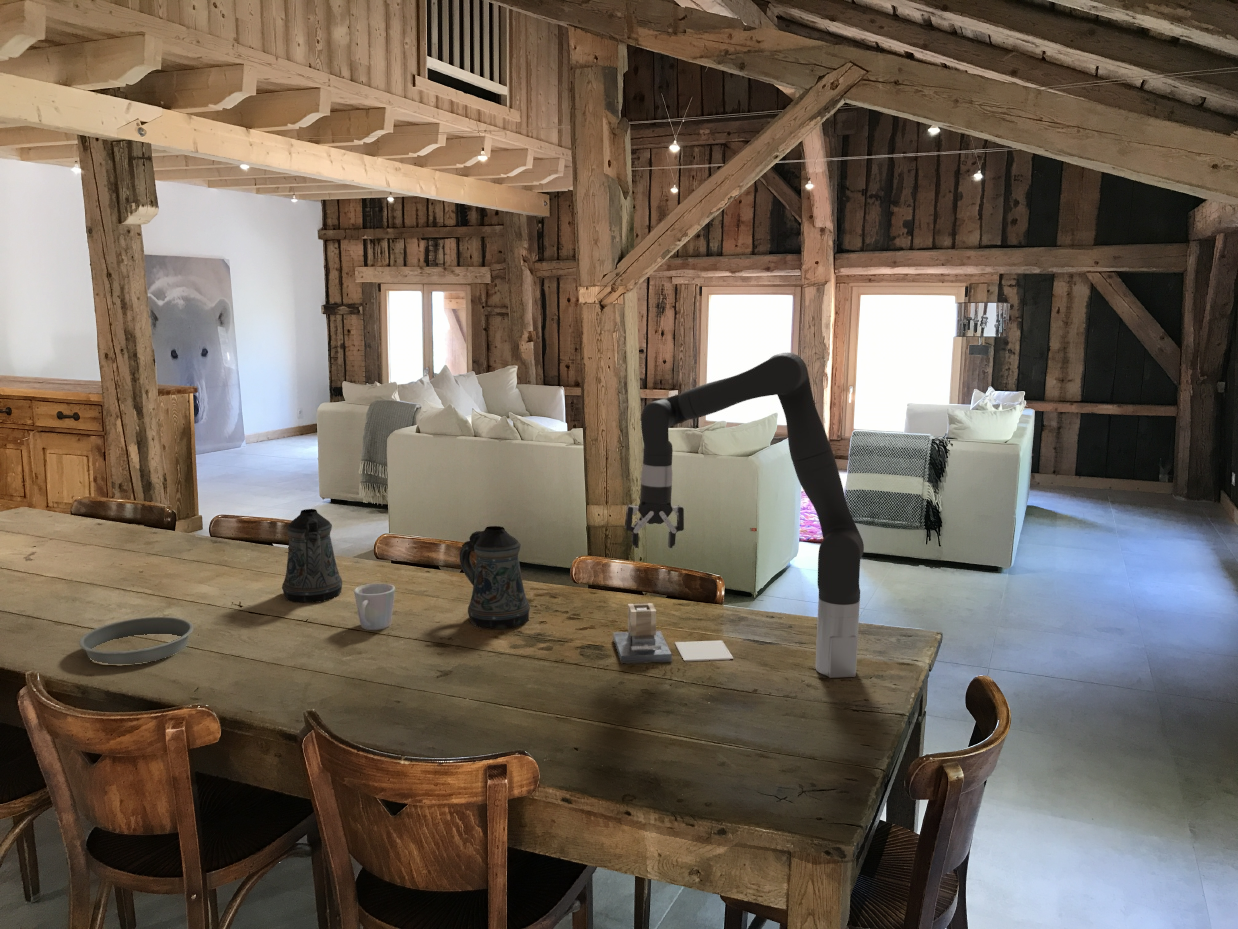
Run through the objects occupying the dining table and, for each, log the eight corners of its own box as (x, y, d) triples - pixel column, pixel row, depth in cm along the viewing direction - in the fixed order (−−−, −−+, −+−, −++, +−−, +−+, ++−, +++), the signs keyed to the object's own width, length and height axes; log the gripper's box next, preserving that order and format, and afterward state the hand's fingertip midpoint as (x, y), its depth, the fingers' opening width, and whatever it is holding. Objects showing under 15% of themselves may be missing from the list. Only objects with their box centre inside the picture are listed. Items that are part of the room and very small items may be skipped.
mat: (733, 659, 224) (733, 658, 224) (683, 661, 222) (683, 659, 222) (721, 642, 236) (722, 640, 235) (674, 643, 234) (674, 642, 234)
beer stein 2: (526, 630, 243) (525, 536, 239) (451, 629, 243) (449, 535, 239) (533, 610, 259) (532, 521, 255) (463, 609, 260) (461, 520, 255)
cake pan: (57, 658, 222) (55, 640, 221) (151, 627, 244) (150, 610, 243) (124, 677, 211) (122, 658, 210) (216, 643, 232) (215, 626, 232)
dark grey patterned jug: (321, 582, 283) (317, 501, 279) (360, 595, 271) (357, 511, 267) (271, 595, 270) (266, 510, 266) (309, 609, 258) (305, 520, 254)
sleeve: (655, 635, 226) (656, 611, 225) (631, 635, 225) (631, 611, 224) (651, 626, 232) (652, 603, 231) (627, 627, 231) (628, 603, 230)
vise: (671, 662, 222) (672, 619, 220) (621, 664, 221) (621, 621, 219) (660, 638, 238) (660, 598, 236) (613, 640, 236) (613, 600, 234)
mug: (401, 619, 250) (400, 583, 249) (382, 639, 236) (381, 600, 234) (363, 618, 251) (362, 582, 250) (342, 637, 237) (340, 599, 235)
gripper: (629, 485, 222) (627, 551, 225) (688, 485, 224) (685, 551, 227) (624, 479, 230) (622, 543, 232) (681, 479, 232) (678, 543, 235)
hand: (653, 547), depth 230 cm, fingers open, 8 cm apart
